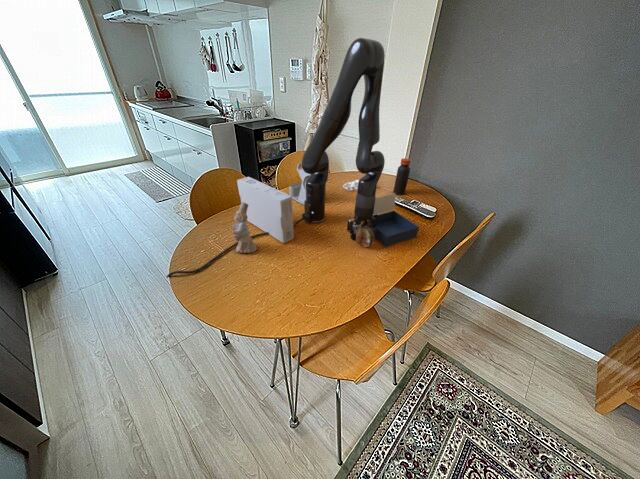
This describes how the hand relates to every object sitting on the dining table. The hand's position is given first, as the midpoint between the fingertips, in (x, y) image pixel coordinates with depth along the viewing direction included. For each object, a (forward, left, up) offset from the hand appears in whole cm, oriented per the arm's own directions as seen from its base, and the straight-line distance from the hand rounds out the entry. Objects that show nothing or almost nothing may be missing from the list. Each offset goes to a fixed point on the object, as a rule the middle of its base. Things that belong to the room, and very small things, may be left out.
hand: (360, 237), depth 111 cm
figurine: (-46, +16, -2) cm, 49 cm away
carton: (+16, 0, -2) cm, 16 cm away
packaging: (-33, +28, -2) cm, 43 cm away
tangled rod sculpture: (+33, +48, -2) cm, 58 cm away
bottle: (+50, +32, -2) cm, 59 cm away
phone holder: (-5, +49, -2) cm, 49 cm away
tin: (0, 0, -2) cm, 2 cm away
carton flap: (+16, +9, +8) cm, 20 cm away
